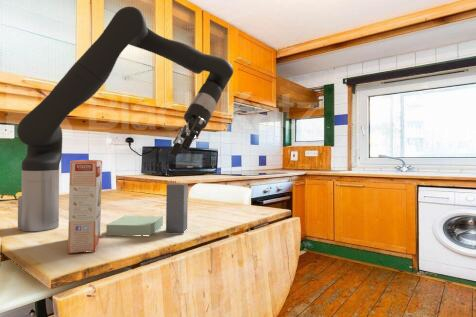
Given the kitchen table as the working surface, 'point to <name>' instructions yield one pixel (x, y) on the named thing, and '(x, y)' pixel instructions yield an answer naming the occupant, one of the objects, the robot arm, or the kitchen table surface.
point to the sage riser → (134, 225)
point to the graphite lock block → (176, 207)
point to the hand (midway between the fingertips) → (177, 152)
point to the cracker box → (84, 205)
